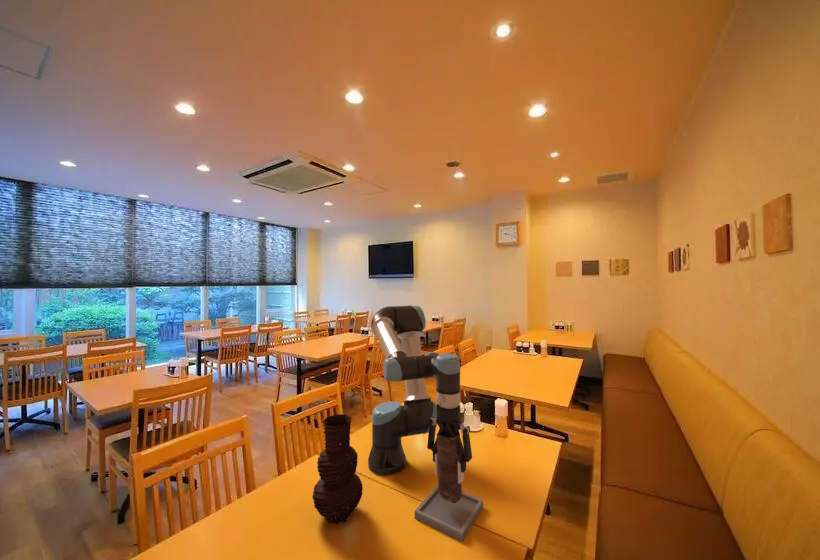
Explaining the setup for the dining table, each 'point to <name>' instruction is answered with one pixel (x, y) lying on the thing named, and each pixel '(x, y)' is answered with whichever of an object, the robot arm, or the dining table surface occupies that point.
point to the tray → (449, 513)
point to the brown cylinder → (448, 468)
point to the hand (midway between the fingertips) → (449, 476)
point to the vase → (337, 472)
